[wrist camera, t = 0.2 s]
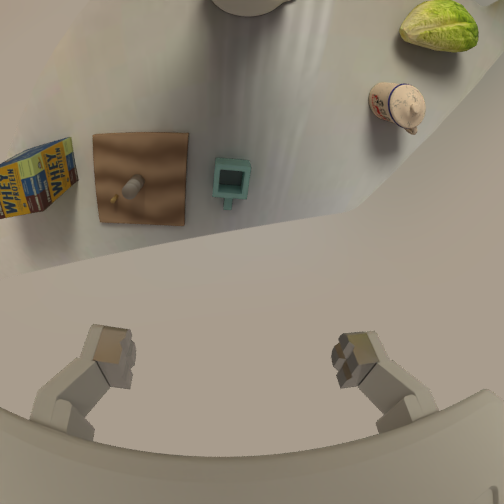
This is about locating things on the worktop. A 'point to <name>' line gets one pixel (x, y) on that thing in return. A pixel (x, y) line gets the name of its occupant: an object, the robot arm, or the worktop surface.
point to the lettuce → (440, 26)
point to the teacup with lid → (398, 105)
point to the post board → (147, 163)
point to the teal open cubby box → (231, 190)
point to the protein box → (36, 178)
